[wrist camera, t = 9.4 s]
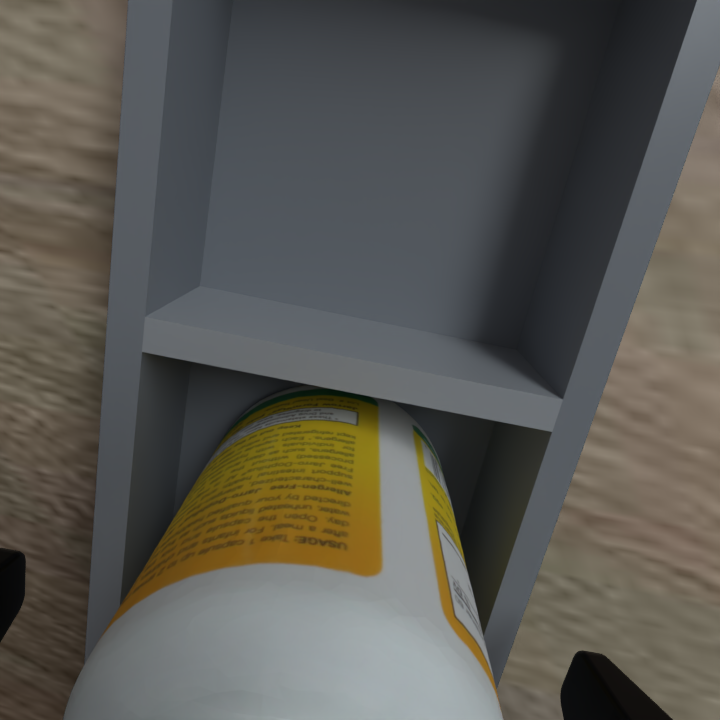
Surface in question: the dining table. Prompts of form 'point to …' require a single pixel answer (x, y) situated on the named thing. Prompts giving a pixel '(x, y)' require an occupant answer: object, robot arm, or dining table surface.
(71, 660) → the dining table surface
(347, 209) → the slot holder
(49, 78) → the dining table surface
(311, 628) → the supplement bottle
